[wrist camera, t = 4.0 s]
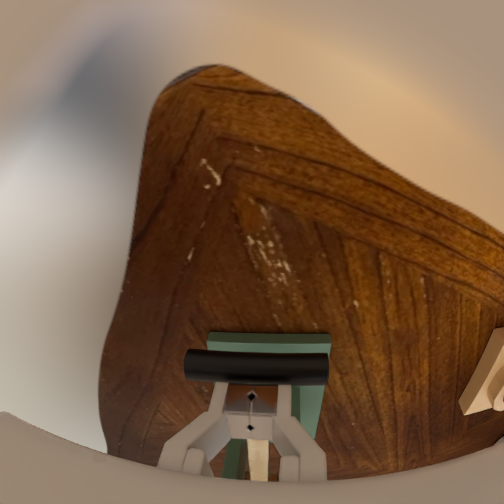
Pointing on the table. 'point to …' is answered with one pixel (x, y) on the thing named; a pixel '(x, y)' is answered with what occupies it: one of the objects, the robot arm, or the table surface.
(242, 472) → the green lever stand
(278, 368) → the lever handle
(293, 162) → the table surface
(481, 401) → the call button
